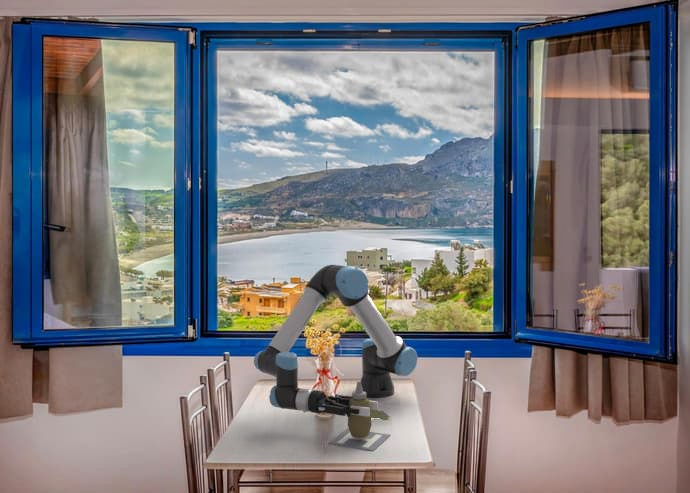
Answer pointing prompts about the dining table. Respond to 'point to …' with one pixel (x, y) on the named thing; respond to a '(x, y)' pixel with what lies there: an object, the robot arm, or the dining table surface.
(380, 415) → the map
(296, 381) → the robot arm
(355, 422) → the squeeze bottle
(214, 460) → the dining table surface
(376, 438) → the pad
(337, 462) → the dining table surface
